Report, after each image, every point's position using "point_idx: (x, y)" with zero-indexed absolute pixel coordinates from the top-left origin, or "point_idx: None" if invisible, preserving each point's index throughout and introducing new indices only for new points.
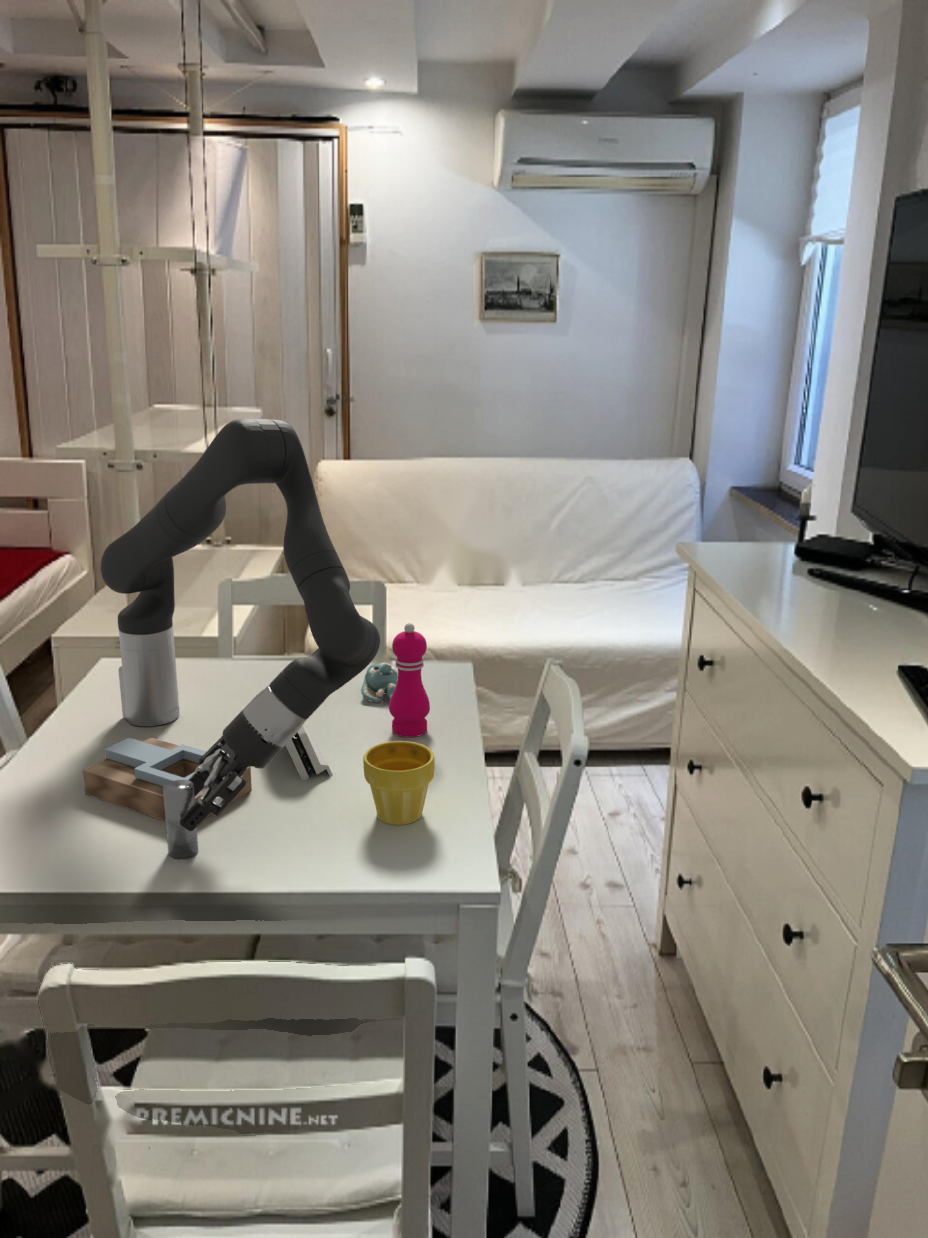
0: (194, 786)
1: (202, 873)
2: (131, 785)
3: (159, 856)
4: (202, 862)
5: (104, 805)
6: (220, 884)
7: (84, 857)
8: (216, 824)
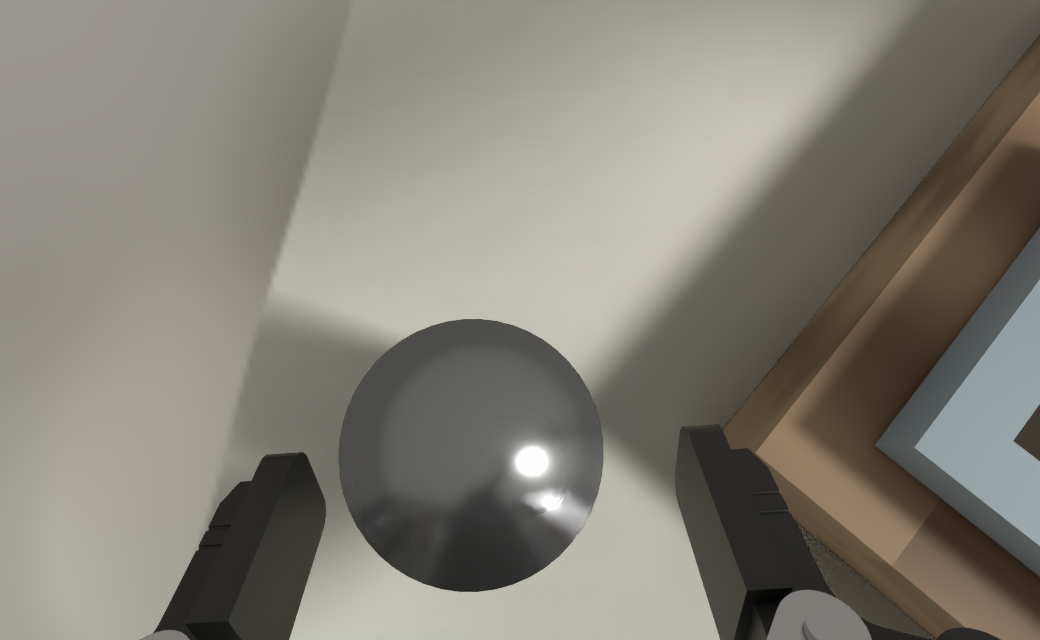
0: (709, 549)
1: None
2: (1004, 148)
3: None
4: None
5: (957, 88)
6: None
7: (539, 75)
8: None
